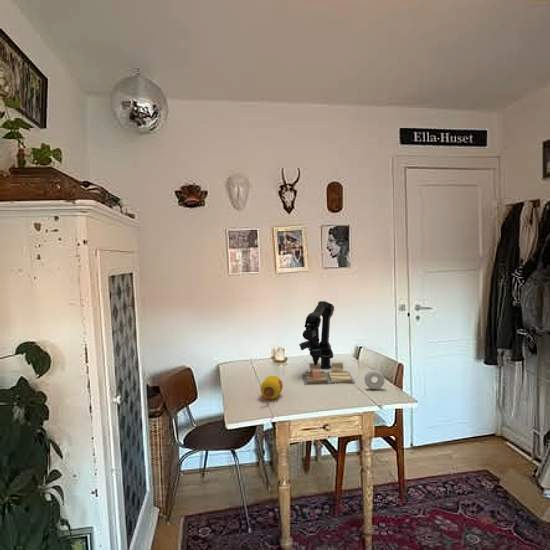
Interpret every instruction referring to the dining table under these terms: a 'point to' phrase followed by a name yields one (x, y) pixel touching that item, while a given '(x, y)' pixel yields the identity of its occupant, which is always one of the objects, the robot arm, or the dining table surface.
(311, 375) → the darker brown strip
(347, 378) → the tan piece
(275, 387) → the yellow piece
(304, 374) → the lane mat
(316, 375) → the block
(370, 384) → the donut
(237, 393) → the dining table surface
